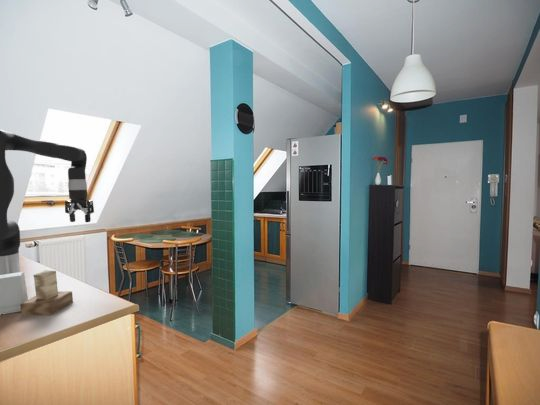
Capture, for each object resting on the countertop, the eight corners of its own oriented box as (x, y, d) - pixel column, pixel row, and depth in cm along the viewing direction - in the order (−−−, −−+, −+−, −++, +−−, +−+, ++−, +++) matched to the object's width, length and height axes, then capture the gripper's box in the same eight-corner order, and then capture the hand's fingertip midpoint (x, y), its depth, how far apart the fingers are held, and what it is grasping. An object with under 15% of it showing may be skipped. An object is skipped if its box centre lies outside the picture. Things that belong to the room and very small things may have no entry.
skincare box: (29, 305, 123) (25, 270, 122) (24, 311, 118) (21, 275, 116) (2, 309, 119) (-1, 274, 118) (-3, 316, 114) (-7, 278, 113)
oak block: (36, 298, 118) (33, 274, 116) (47, 293, 123) (45, 270, 121) (47, 299, 117) (44, 275, 116) (58, 294, 122) (55, 271, 120)
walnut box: (21, 316, 114) (20, 303, 114) (45, 303, 126) (44, 291, 126) (52, 316, 114) (51, 303, 114) (72, 302, 126) (72, 291, 126)
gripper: (58, 189, 141) (61, 223, 142) (84, 189, 138) (86, 223, 139) (72, 188, 148) (74, 220, 149) (96, 188, 145) (98, 221, 147)
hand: (80, 222), depth 144 cm, fingers open, 8 cm apart
